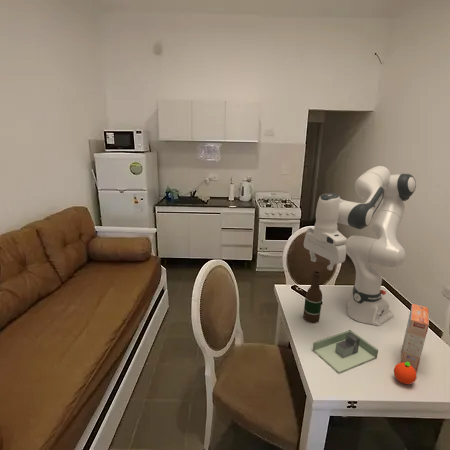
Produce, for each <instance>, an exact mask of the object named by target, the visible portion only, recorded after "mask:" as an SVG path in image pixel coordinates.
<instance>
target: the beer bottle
mask: <svg viewBox="0 0 450 450" xmlns="http://www.w3.org/2000/svg"><path fill="white" fill-rule="evenodd" d="M321 276H322V275H321V272H320V271H318V270H315V271H313V272H312V279H311V285H310V286H309V288H308V289H307V291H306V293H305V297H304V307H303V320H305V322H307V323H312V324H316V323H319V321H320V317H321V310H322V302H323V293H322V292H323V291H322V290H321V288H320V281H321Z"/></svg>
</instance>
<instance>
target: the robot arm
mask: <svg viewBox="0 0 450 450" xmlns="http://www.w3.org/2000/svg"><path fill="white" fill-rule="evenodd" d="M416 188H417V182H416V179H415V177H414V176H413V174H410V173H401V174H400V173H399V174H391V172H390V169H388V167H386V166H383V165H377V166H374V167H371V168H369V169H368V170H366V171H365V172H364V173H362V174H361V175H360V176H358V178H357V179H356V181H355V183H354V190H355V193H356V194H357V196H358V197H359V198H361V199H362V200H364V202H355V201H349V200H344V199H342V198H341V197H340V195H339V194H337V193H335V192H328V193H327V192H325V193H323V194H320V195H319V198H318V201H317V204H316V210H315V223H314V227H313V228H312V227H309V228H308V229H306V232H305V236H304V240H303V247H304V249H306V250H308V251H309V255H310V256H309V257H310V261H311V262H313V263H316V262H317V256H316V255H318V256H320V257H322V258H324V259H327V260H328V261H329V264H328V265H327V267H326V269H327V270H328V271H329V272H330V271H333V269H334V266H335V265H338V264H343V263H344V262H345V261H346V257H347V256H348V257H349V258H350V260H351V261H352V263H353V265H354V268H355V269H354V270H355V282H354V285H353V288H352V293H351V295H350V298H349V302H348V304H346V314H347V315H348V317H350V319H352V320H354V321H357V322H358V323H361V324H367V325H373V326H377V327H379V326H381V325H383V324H384V323H386V322H388V320H390V319H392V318H393V317H394V313H393V312H392V311H391V310H390V304H389V303H388V301H387V300H386V299H384V298H383V297H382V296H385V295H386V293H387V292H386V290H384V289H381V288H382V282H383V276H382V273H381V272H380V271H379V270H378V269H377V268H376V267H374V264H375V265H379V266H381V267H386V268H397V269H398V268H399V267H401V266H402V265H403V264H404V263H405V260H406V259H407V258H406V256H407V255H406V251H405V248H404V247H403V246H402V245H401V244H400V242H399V241H398V239H397V233H398V230H399V227H400V224H401V223H402V219H403V215H404V212H405V208H406V207H405V203H404V202H406V201H408V200H409V199H410V198H411V196H413V194H414V192H415V191H416ZM374 214H375V215H374ZM373 217H374V218H373ZM372 219H373V220H372ZM338 224H341V225H345V226H348V227H352V228H354V229H357V230H363V229H365V228H367V227H368V226H369V225H370V224H371V225H370V230H371V231H372V233H373V234H374V235H375V236H376V237H378V239H377V238H373V237H368V236H363V235H351V236H349V237H346V236H344V234H342V233H341V232H340V231H339V230H338V227H339V226H338Z"/></svg>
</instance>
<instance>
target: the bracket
mask: <svg viewBox="0 0 450 450" xmlns="http://www.w3.org/2000/svg"><path fill="white" fill-rule="evenodd" d="M359 342H360V338H359V337H357V336H356V335H354V334H353V333H350V334H347V335H346V340H345V341H342V342H339V343H336V350H335V352H336V353H337V354H338V355H339V356H341V357H342V358H345V357H348V356H350V355H353V354H355V353H358V348H359Z"/></svg>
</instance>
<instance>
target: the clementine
mask: <svg viewBox="0 0 450 450" xmlns="http://www.w3.org/2000/svg"><path fill="white" fill-rule="evenodd" d="M393 373H394V376H395V378H396V379H397V381H399V382H400V383H401V384H405V385H410V384H411V385H412V384H413V383H414V382H415V381H416V380H417V373H416V371H415V369H414V368H413V367H412V366H411V365H410V362H406V363H403V362H402V363H400V362H399V363H397V364H396V365H395V366H394V368H393Z"/></svg>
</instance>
